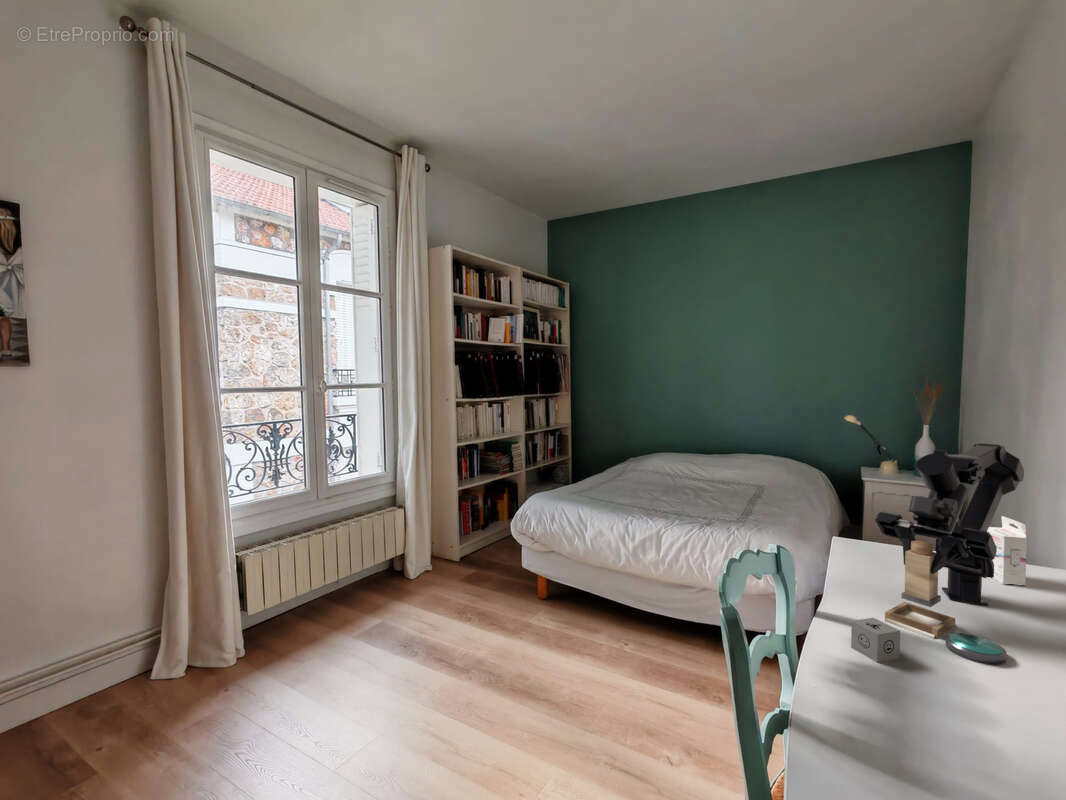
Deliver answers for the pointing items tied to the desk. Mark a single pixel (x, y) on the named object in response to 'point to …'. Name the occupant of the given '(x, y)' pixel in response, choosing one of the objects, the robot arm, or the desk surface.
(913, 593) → the stamp
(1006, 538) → the ink cartridge box
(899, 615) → the frame
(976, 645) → the pad
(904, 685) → the desk surface
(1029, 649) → the desk surface
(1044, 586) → the desk surface
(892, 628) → the dice cube
